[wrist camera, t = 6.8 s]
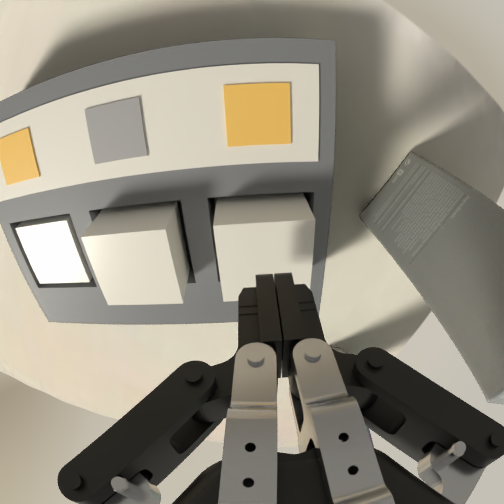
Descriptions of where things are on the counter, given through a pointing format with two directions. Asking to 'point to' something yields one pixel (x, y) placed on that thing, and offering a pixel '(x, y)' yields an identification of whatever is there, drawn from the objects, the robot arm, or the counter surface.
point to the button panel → (170, 156)
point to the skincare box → (449, 259)
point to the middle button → (139, 254)
